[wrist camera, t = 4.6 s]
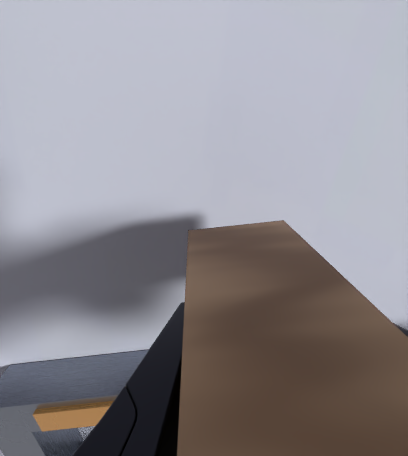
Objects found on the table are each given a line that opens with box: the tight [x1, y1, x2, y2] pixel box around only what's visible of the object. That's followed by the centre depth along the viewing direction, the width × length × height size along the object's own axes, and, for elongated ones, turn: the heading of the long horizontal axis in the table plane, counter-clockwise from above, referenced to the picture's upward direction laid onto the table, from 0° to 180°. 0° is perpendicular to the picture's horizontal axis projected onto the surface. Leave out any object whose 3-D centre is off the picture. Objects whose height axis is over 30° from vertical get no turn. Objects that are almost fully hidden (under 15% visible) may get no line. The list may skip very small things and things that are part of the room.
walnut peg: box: [177, 220, 408, 456], centre depth 6 cm, size 4×4×9 cm
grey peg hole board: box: [0, 350, 149, 456], centre depth 17 cm, size 20×12×3 cm, turn 96°
